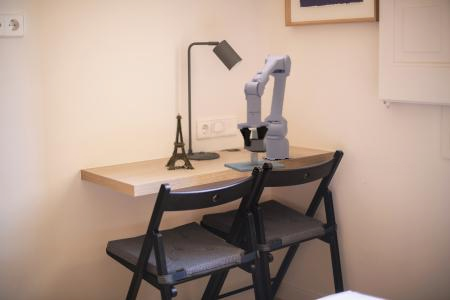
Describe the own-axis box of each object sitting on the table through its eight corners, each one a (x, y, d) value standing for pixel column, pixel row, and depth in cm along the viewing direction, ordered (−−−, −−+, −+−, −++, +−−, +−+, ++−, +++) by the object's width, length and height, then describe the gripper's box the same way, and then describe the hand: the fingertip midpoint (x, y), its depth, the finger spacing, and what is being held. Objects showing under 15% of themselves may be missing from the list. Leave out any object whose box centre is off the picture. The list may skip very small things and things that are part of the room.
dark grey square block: (255, 147, 274) (255, 138, 273) (263, 149, 269) (263, 139, 268) (244, 148, 271) (244, 139, 270) (251, 150, 266) (251, 140, 265)
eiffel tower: (167, 170, 263) (167, 106, 259) (165, 165, 273) (164, 104, 270) (194, 169, 265) (194, 106, 261) (190, 164, 276) (190, 103, 272)
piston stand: (266, 161, 281) (266, 149, 280) (284, 167, 269) (285, 154, 268) (224, 166, 272) (224, 153, 271) (241, 171, 260) (241, 158, 259)
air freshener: (246, 149, 315) (246, 128, 313) (263, 148, 316) (263, 127, 315) (253, 153, 304) (253, 131, 302) (270, 152, 306) (270, 130, 304)
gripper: (263, 110, 274) (262, 143, 277) (233, 112, 267) (233, 145, 269) (273, 111, 269) (273, 145, 271) (243, 113, 261) (242, 148, 263)
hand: (253, 145), depth 269 cm, fingers closed on dark grey square block, 6 cm apart
